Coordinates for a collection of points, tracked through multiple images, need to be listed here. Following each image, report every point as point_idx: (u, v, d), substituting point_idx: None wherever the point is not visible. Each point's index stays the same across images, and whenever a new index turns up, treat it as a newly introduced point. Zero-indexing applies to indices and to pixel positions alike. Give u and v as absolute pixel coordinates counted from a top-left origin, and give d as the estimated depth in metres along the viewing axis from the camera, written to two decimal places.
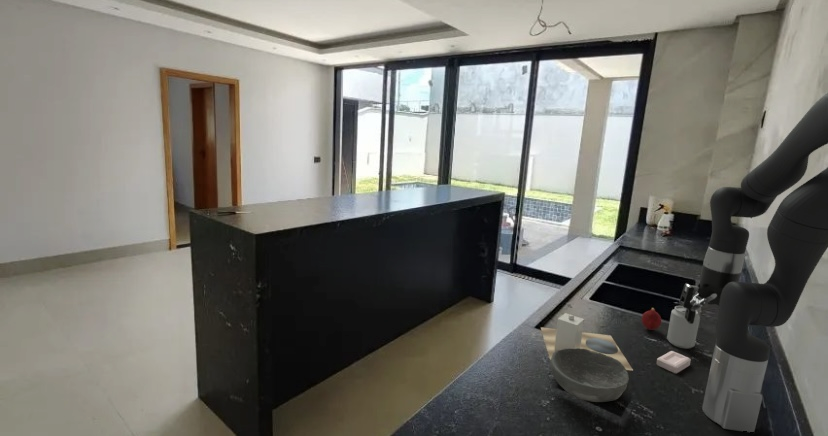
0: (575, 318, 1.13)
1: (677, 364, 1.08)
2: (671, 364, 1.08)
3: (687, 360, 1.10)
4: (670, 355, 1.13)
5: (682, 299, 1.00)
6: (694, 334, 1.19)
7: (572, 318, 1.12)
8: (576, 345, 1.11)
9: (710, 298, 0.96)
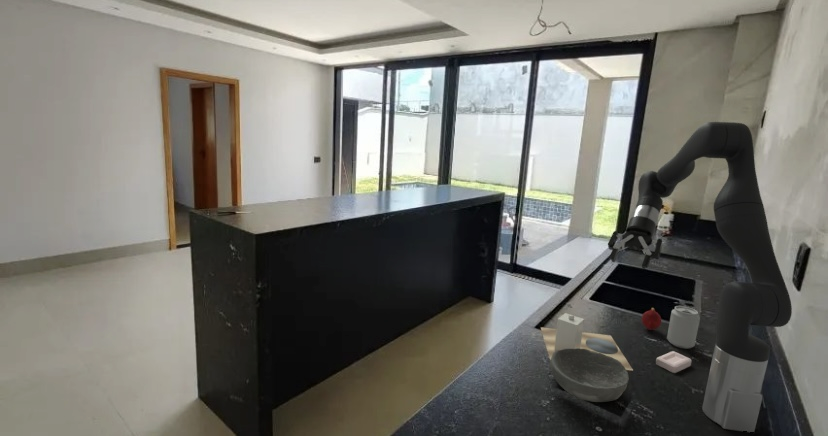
0: (575, 318, 1.13)
1: (676, 364, 1.08)
2: (670, 364, 1.08)
3: (687, 361, 1.10)
4: (670, 355, 1.13)
5: None
6: (694, 334, 1.19)
7: (572, 318, 1.12)
8: (576, 345, 1.11)
9: (628, 238, 1.20)
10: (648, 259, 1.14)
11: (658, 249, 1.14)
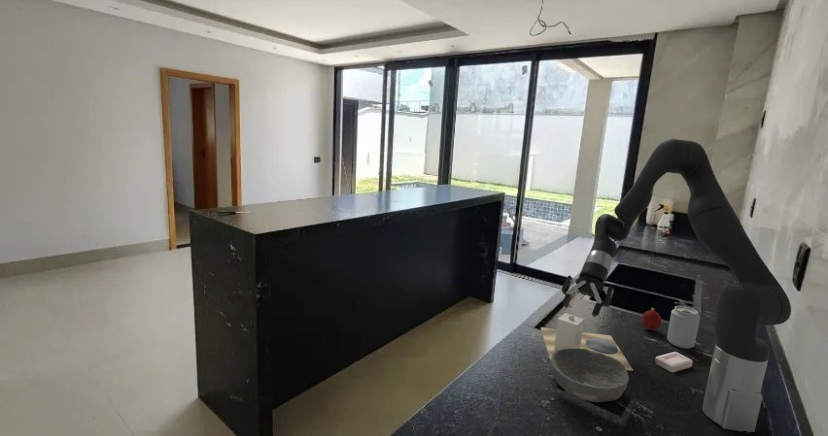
0: (575, 318, 1.13)
1: (674, 363, 1.08)
2: (668, 363, 1.08)
3: (688, 361, 1.10)
4: (671, 355, 1.13)
5: None
6: (694, 334, 1.19)
7: (572, 318, 1.12)
8: (576, 345, 1.11)
9: (580, 284, 1.20)
10: (598, 307, 1.14)
11: (608, 297, 1.14)
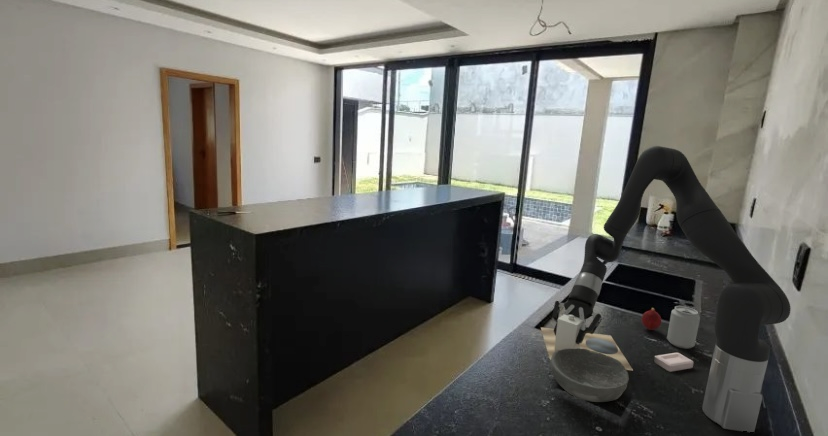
0: (575, 318, 1.13)
1: (673, 363, 1.08)
2: (666, 362, 1.09)
3: (688, 362, 1.09)
4: (672, 355, 1.13)
5: None
6: (694, 334, 1.19)
7: (572, 318, 1.12)
8: (576, 345, 1.11)
9: (570, 309, 1.16)
10: (582, 334, 1.10)
11: (593, 325, 1.10)
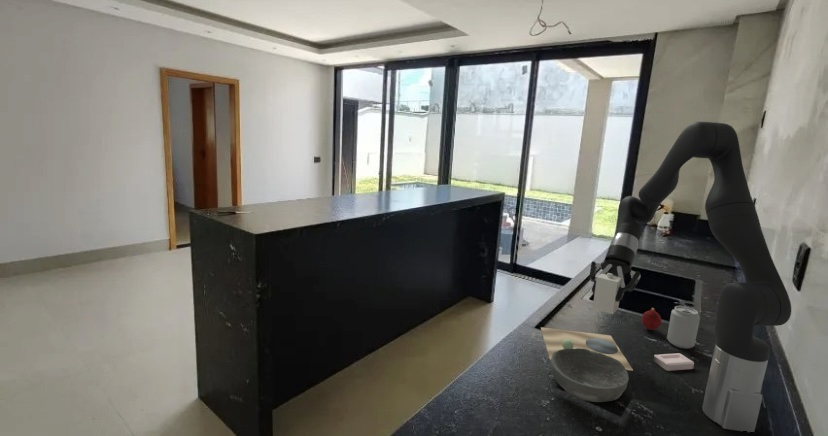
0: (614, 276, 1.13)
1: (671, 362, 1.09)
2: (664, 361, 1.09)
3: (688, 362, 1.09)
4: (673, 355, 1.13)
5: None
6: (694, 334, 1.19)
7: (611, 276, 1.12)
8: (615, 303, 1.12)
9: (607, 268, 1.16)
10: (621, 292, 1.11)
11: (633, 282, 1.10)
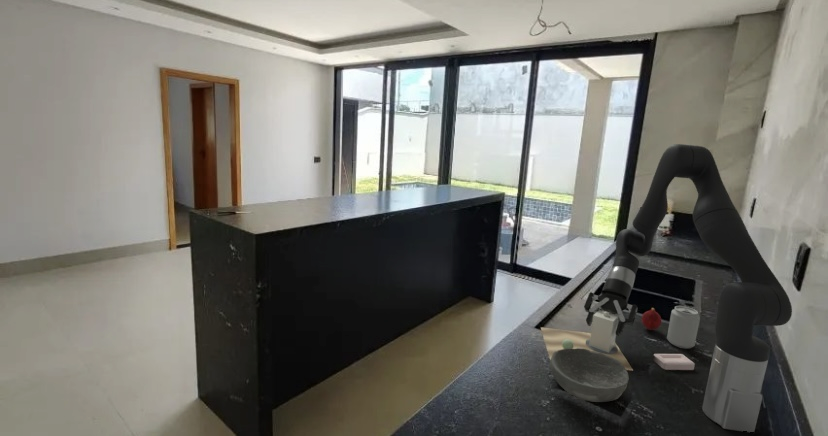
0: (610, 315, 1.16)
1: (669, 362, 1.09)
2: (662, 360, 1.10)
3: (688, 363, 1.09)
4: (674, 355, 1.13)
5: None
6: (694, 334, 1.19)
7: (607, 315, 1.15)
8: (611, 341, 1.14)
9: (604, 301, 1.18)
10: (622, 326, 1.13)
11: (632, 316, 1.12)
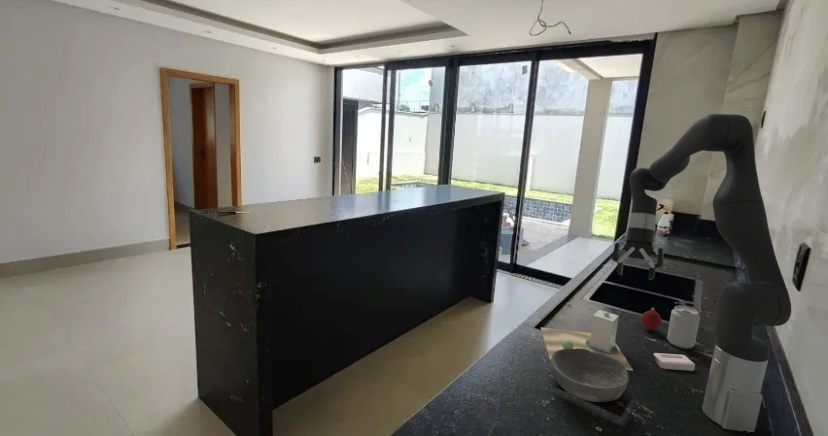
0: (610, 315, 1.16)
1: (668, 361, 1.09)
2: (660, 359, 1.10)
3: (688, 364, 1.09)
4: (674, 355, 1.12)
5: None
6: (694, 334, 1.19)
7: (607, 315, 1.15)
8: (611, 341, 1.14)
9: (630, 251, 1.24)
10: (653, 271, 1.20)
11: (660, 260, 1.19)
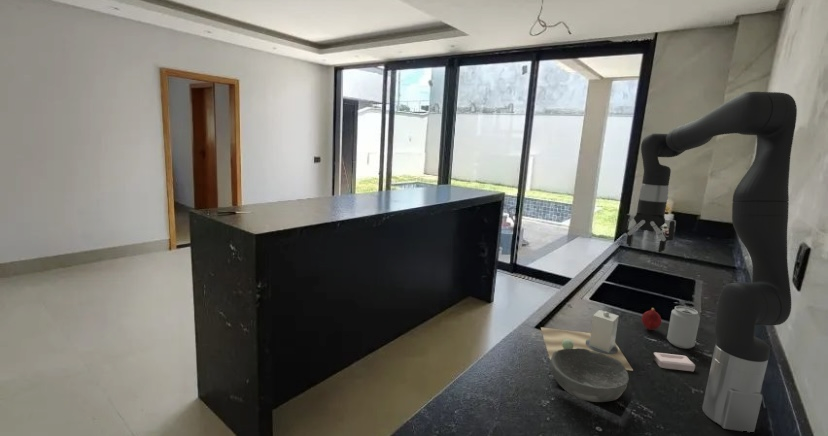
0: (610, 315, 1.16)
1: (666, 360, 1.10)
2: (659, 358, 1.11)
3: (687, 364, 1.08)
4: (675, 356, 1.12)
5: None
6: (694, 334, 1.19)
7: (607, 315, 1.15)
8: (611, 341, 1.14)
9: (640, 224, 1.20)
10: (663, 244, 1.18)
11: (672, 233, 1.16)
